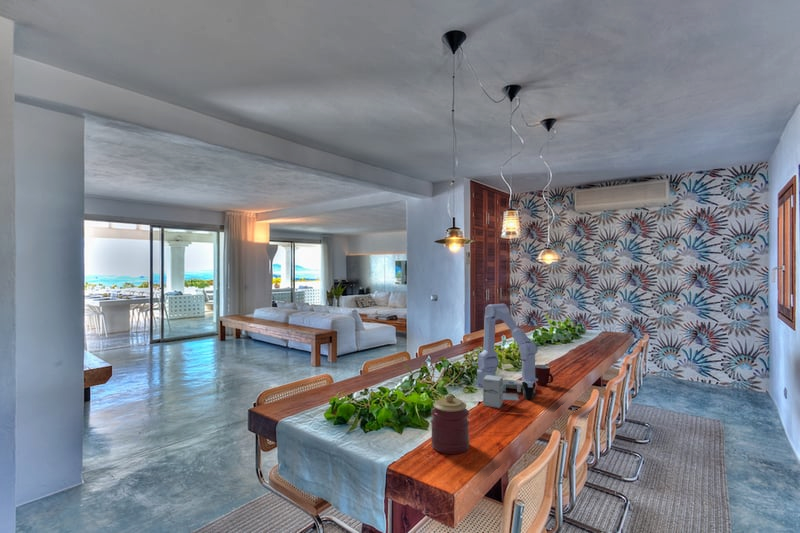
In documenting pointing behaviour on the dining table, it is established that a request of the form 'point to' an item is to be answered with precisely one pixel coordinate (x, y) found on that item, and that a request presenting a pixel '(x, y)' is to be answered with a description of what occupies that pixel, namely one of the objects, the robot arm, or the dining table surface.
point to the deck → (510, 396)
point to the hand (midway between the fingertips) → (528, 398)
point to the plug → (525, 394)
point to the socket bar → (513, 385)
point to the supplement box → (492, 391)
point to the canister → (450, 426)
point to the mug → (543, 375)
